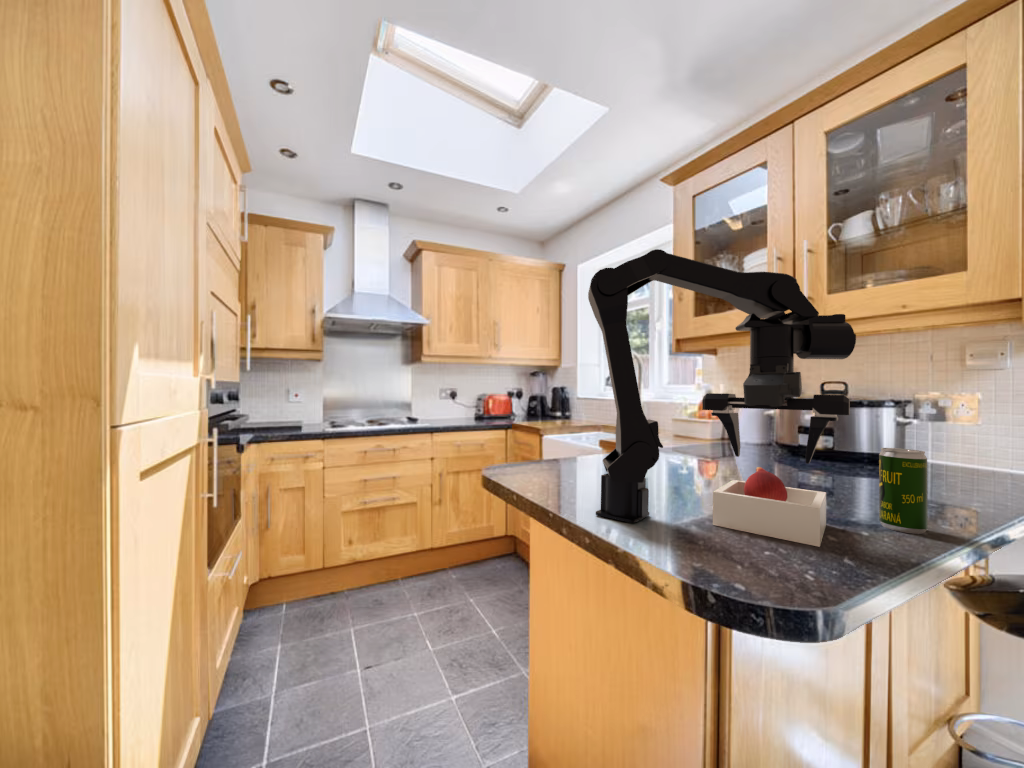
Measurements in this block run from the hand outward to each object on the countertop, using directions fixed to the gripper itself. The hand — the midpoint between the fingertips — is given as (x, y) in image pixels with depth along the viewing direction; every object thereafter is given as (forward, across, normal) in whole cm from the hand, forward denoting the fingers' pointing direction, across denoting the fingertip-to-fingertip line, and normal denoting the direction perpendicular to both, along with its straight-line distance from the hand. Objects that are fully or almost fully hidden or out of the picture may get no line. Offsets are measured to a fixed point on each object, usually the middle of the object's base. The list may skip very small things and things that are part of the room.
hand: (771, 459), depth 63 cm
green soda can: (+10, +15, +13) cm, 23 cm away
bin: (+10, 0, 0) cm, 10 cm away
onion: (+8, 0, 0) cm, 9 cm away
